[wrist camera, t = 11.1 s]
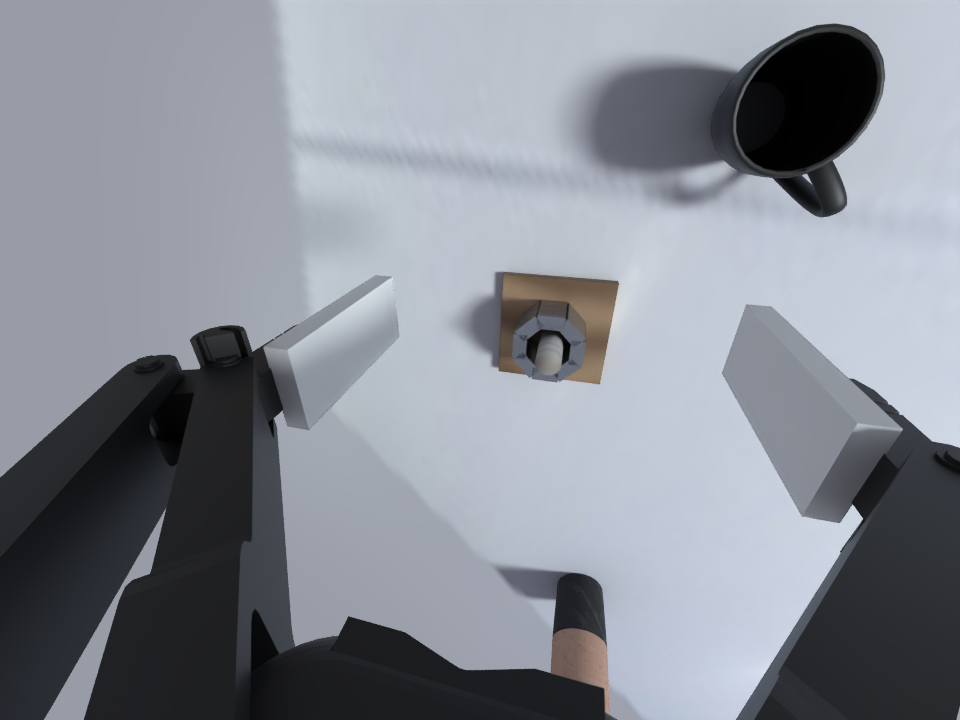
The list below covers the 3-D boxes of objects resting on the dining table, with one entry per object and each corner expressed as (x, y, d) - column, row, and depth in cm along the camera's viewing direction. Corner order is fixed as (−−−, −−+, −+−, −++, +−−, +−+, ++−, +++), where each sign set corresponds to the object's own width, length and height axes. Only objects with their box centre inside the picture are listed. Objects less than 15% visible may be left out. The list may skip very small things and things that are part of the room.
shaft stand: (504, 272, 43) (488, 297, 36) (617, 281, 41) (626, 310, 33) (500, 367, 49) (484, 406, 41) (599, 380, 47) (602, 424, 39)
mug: (730, 229, 37) (772, 250, 28) (678, 104, 33) (709, 87, 25) (834, 176, 33) (917, 182, 25) (788, 31, 30) (865, -16, 22)
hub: (521, 297, 43) (514, 313, 39) (588, 303, 42) (589, 320, 38) (517, 355, 47) (510, 376, 42) (579, 363, 45) (579, 385, 41)
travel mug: (583, 566, 62) (583, 725, 44) (614, 595, 63) (626, 760, 46) (546, 580, 65) (533, 733, 48) (576, 607, 67) (574, 765, 49)
